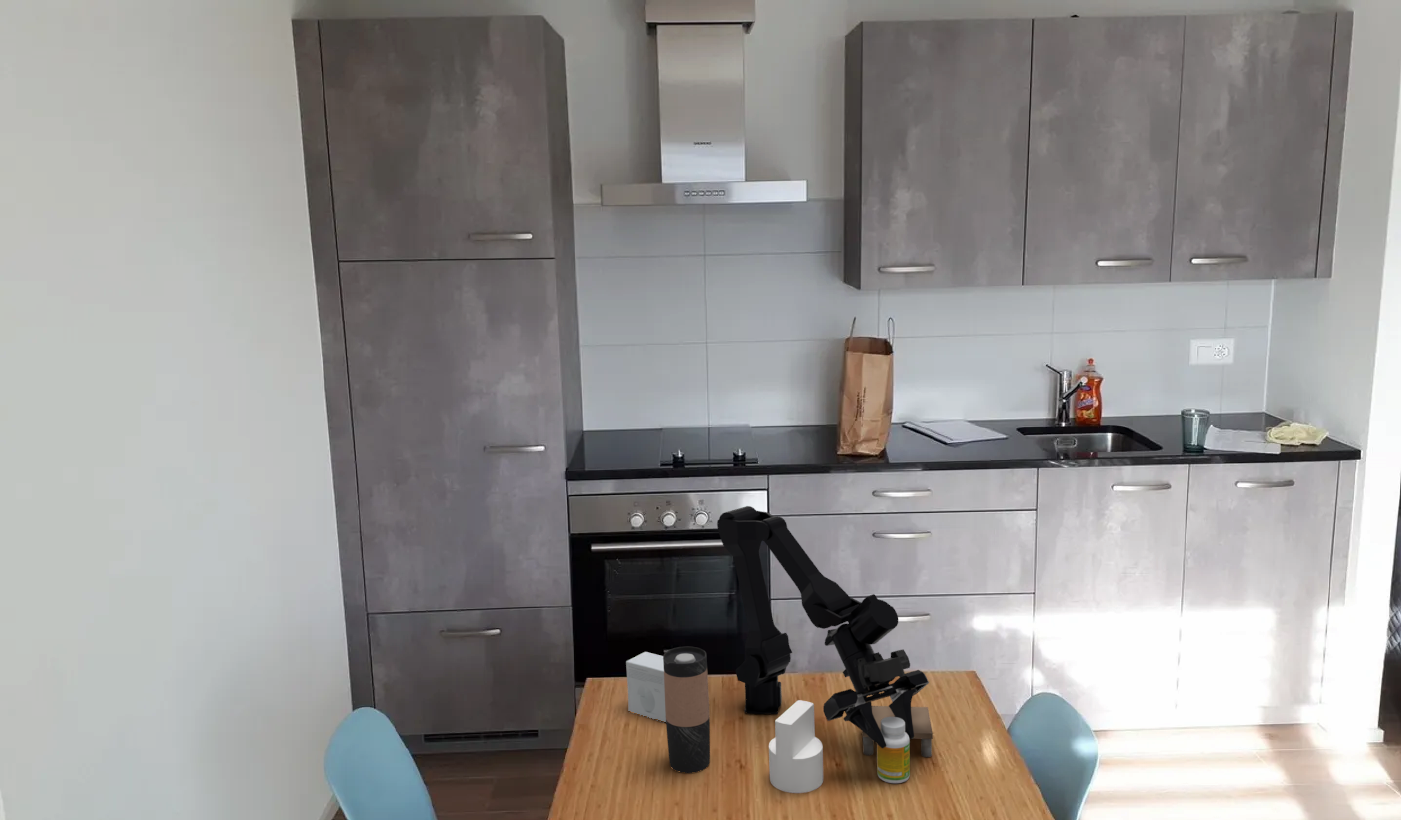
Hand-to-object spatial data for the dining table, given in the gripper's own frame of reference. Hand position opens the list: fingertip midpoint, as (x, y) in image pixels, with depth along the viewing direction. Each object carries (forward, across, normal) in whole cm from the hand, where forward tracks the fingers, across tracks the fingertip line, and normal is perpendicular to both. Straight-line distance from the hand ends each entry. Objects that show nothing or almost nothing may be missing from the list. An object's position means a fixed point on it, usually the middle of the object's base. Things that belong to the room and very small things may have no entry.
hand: (898, 742), depth 167 cm
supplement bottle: (+4, 0, +6) cm, 7 cm away
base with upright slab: (-2, -14, +11) cm, 18 cm away
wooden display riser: (-3, +7, +12) cm, 14 cm away
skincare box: (-26, -24, +36) cm, 50 cm away
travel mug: (-12, -28, +21) cm, 37 cm away
